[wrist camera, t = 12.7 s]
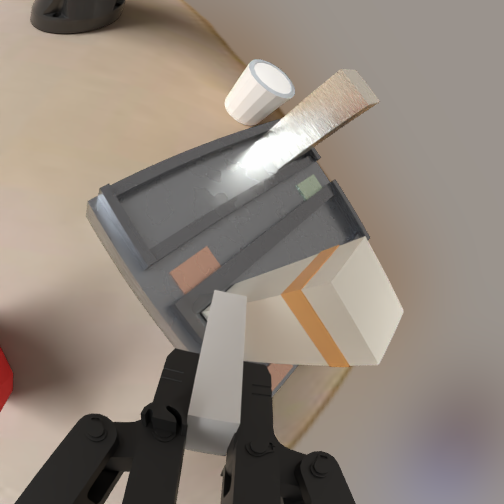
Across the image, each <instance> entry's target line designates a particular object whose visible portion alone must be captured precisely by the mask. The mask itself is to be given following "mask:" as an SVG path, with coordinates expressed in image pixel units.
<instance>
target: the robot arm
mask: <svg viewBox="0 0 504 504" xmlns="http://www.w3.org/2000/svg"><path fill="white" fill-rule="evenodd" d="M124 4H125V0H35V1H34V3H33V6H32V11H31V17H30V20H31V23H32V25H33V26H35V27H36V28H38V29H40V30H42V31H46V32H51V33H78V32H85V31H90V30H95V29H98V28H101V27H104V26H106V25H109V24H111V23H112V22H114V21H115V20H116V19H117V18H118V17H119V16H120V14H121V12H122V9H123V7H124ZM246 305H247V296H242V295H237V294H232V293H228V292H223V291H218V290H214V294H213V298H212V303H211V307H210V312H209V316H208V321H207V325H206V330H205V334H204V339H203V343H202V348H201V353H200V354H199V353H194V352H189V351H185V350H181V349H176V348H175V349H174V350H173V351H172V352H171V353H170V354H169V355H168V356H167V359H166V362H165V365H164V369H163V371H162V374H161V378H160V381H159V384H158V387H157V390H156V394H155V397H154V400H153V402H152V403H150V404H148V405H147V406H145V407H144V409H143V411H142V412H141V420H139V421H136V422H112V421H111V420H110V419H109V418H107V417H106V416H103V415H101V414H89V415H85V416H84V417H82V418H81V419H80V420H79V421H78V422H77V423H76V425H75V426H74V427H73V428H72V430H71V431H70V432H69V433H68V435H67V436H66V437H65V438H64V440H63V441H62V442H61V443H60V445H59V446H58V447H57V449H56V450H55V451H54V452H53V454H52V455H51V456H50V458H49V459H48V460H47V461H46V463H45V464H44V465H43V467H42V468H41V469H40V470H39V472H38V473H37V474H36V476H35V477H34V478H33V480H32V481H31V482H30V484H29V485H28V486H27V488H26V489H25V490H24V492H23V493H22V494H21V496H20V497H19V498H18V500H17V501H16V502H15V504H104V503H105V501H106V499H107V498H108V496H109V495H110V493H111V491H112V490H113V488H114V487H115V485H116V483H117V482H118V480H119V479H120V477H121V475H122V474H123V472H124V471H127V472H130V474H129V478H128V482H127V486H126V490H125V494H124V498H123V502H122V504H176V500H177V494H178V487H179V481H180V475H181V469H182V462H183V455H184V449H187V450H192V451H197V452H203V453H208V454H215V455H221V456H226V453H227V457H226V464H225V466H224V468H223V470H222V473H221V476H223V482H222V494H221V504H355V501H354V499H353V497H352V494H351V492H350V490H349V487H348V485H347V483H346V481H345V478H344V476H343V474H342V471H341V469H340V467H339V464H338V463H337V461H336V460H335V458H334V457H333V456H331V455H330V454H328V453H325V452H322V451H319V452H318V451H317V452H312V453H310V454H308V455H306V454H302V453H299V452H296V451H293V450H290V449H288V448H286V447H284V446H283V445H282V444H280V443H279V441H278V440H277V439H276V437H275V435H274V431H273V410H272V389H271V387H272V383H271V374H270V372H269V370H268V368H267V367H266V365H263V364H256V363H250V362H244V361H243V359H244V341H245V323H246Z"/></svg>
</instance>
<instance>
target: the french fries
mask: <svg viewBox="0 0 504 504" xmlns="http://www.w3.org/2000/svg"><path fill="white" fill-rule="evenodd" d="M12 391H13V372H12V370H11V368H10V366H9V363H8V361H7V359H6V357H5V355H4V353H3V351H2V349H1V347H0V412H1V410H2V408H3V406H4V404H5V403H6V401H7V399H8V397H9V396H10V394H11V392H12Z"/></svg>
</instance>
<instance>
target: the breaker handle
mask: <svg viewBox="0 0 504 504" xmlns="http://www.w3.org/2000/svg"><path fill="white" fill-rule="evenodd" d="M226 292H228V293H232V294H237V295H242V296H247V305H246V323H245V341H244V359H243V361H250V362H262V363H276V364H293V365H321V366H330V367H350V366H364V365H379V363H380V362H381V359H382V357H383V356H384V354H385V352H386V349H387V347H388V345H389V343H390V341H391V339H392V337H393V335H394V332H395V330H396V328H397V326H398V323H399V321H400V319H401V316H402V314H403V309H402V306H401V304H400V302H399V300H398V298H397V296H396V294H395V292H394V290H393V288H392V286H391V284H390V282H389V280H388V278H387V276H386V274H385V272H384V270H383V268H382V266H381V264H380V262H379V260H378V258H377V256H376V255H375V253H374V251H373V249H372V247H371V245H370V244H369V242H368V240H367V238H366V236H364V237H361V238H359V239H356V240H353V241H351V242H348V243H346V244H343V245H340V246H339V245H337V246H334V247H332V248H329V249H326V250H324V251H321V252H320V253H319V254H316V255H313V256H311V257H308V258H305V259H302V260H300V261H297V262H294V263H292V264H289V265H286V266H283V267H280V268H278V269H275V270H272V271H269V272H267V273H264V274H261V275H258V276H255V277H252V278H250V279H247V280H244V281H241V282H238V283H235V284H234V285H233V286H232V287H231V288H229V289H228V290H227V291H226ZM210 307H211V305H209V306H208V307H207V308H206V309H205V310H204V311H202V312H201V313H202V314H203V316H204V317H205V318H206V320H207V321H208V316H209V312H210Z"/></svg>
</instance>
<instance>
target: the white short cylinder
mask: <svg viewBox="0 0 504 504" xmlns="http://www.w3.org/2000/svg"><path fill="white" fill-rule="evenodd" d="M294 95H295V88H294V86H293V84H292V82H291V80H290V79H289V78H288V76H287V75H286V74H285V73H284V72H283V71H282V70H280V69H279V68H278V67H277V66H275V65H273V64H272V63H270V62H267V61H264V60H260V59H259V60H258V59H254V60H253V61H251V62H250V63H249V64H248V66H247V67H246V69H245V70H244V71H243V73H242V74H241V76H240V77H239V79H238V80H237V82H236V83H235V85H234V86H233V88H232V90H231V91H230V93H229V94H228V96H227V97H226V99H225V107H226V110H227V111H228V113H229V114H230V116H231V117H233V118H234V119H235V120H236V121H238V122H240V123H242V124H244V125H249V126H252V125H256V124H258V123H259V122H260V121H262V120H263V119H264V118H265V117H267V116H268V115H269V114H271V113H272V112H273V111H275V110H276V109H277V108H279V107H280V106H281V105H283V104H284V103H285V102H287V101H288V100H289V99H291V98H292V97H293V96H294Z"/></svg>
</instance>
